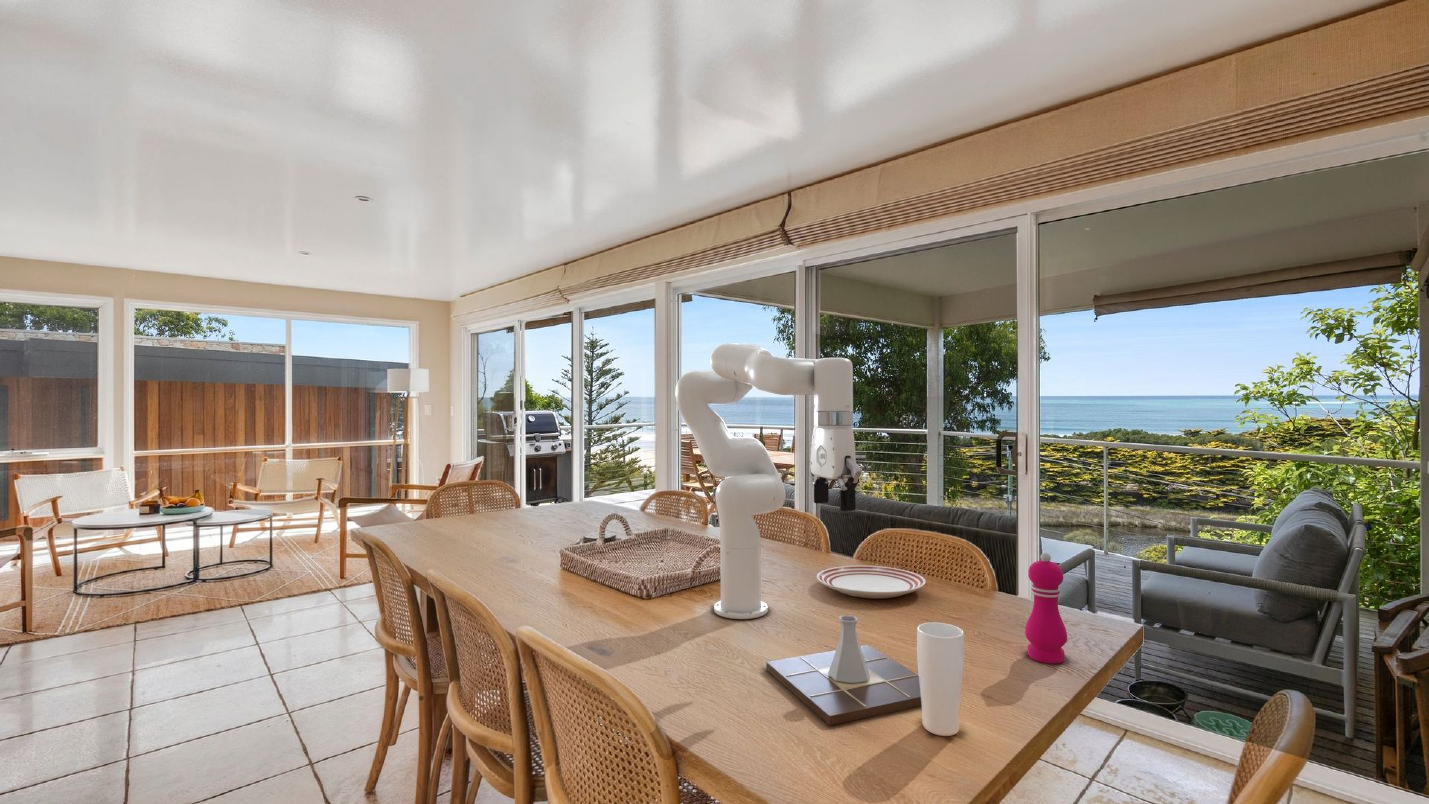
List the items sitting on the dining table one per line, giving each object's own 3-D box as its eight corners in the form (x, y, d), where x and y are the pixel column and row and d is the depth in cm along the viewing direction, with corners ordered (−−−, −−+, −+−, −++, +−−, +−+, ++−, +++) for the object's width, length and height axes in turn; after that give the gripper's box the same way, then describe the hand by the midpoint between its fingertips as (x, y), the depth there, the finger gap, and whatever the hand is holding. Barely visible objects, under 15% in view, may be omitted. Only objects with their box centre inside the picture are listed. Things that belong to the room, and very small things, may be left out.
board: (766, 670, 120) (766, 661, 120) (867, 652, 128) (867, 644, 128) (829, 726, 100) (829, 715, 100) (945, 700, 108) (945, 690, 108)
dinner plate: (805, 576, 182) (805, 564, 182) (900, 573, 185) (900, 561, 185) (834, 608, 155) (834, 594, 155) (944, 603, 158) (944, 589, 158)
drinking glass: (910, 718, 102) (909, 622, 101) (952, 716, 102) (951, 620, 102) (928, 741, 95) (927, 638, 95) (973, 739, 95) (972, 636, 95)
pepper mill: (1050, 667, 120) (1050, 559, 120) (1016, 654, 127) (1016, 551, 126) (1075, 660, 124) (1075, 554, 123) (1041, 647, 130) (1040, 547, 130)
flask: (874, 684, 110) (874, 625, 110) (831, 684, 110) (830, 625, 110) (865, 666, 117) (864, 611, 117) (824, 666, 117) (824, 611, 117)
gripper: (795, 419, 136) (796, 501, 136) (841, 422, 120) (841, 515, 120) (827, 418, 139) (827, 499, 139) (875, 421, 123) (875, 512, 123)
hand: (833, 506), depth 130 cm, fingers open, 9 cm apart
